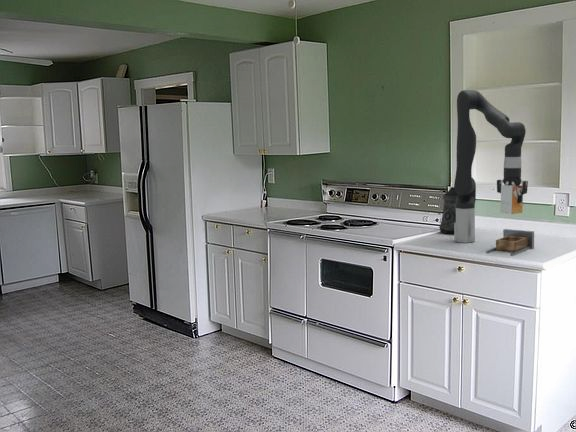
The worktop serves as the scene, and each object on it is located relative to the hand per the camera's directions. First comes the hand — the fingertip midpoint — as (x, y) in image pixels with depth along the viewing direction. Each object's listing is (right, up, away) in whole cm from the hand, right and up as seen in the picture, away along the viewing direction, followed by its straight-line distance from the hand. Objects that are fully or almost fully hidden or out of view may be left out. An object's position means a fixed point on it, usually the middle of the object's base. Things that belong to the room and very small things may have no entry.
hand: (511, 202), depth 271 cm
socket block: (+1, -22, +3) cm, 22 cm away
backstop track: (0, -22, +2) cm, 22 cm away
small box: (0, -5, +1) cm, 5 cm away
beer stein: (-10, -16, +54) cm, 57 cm away
